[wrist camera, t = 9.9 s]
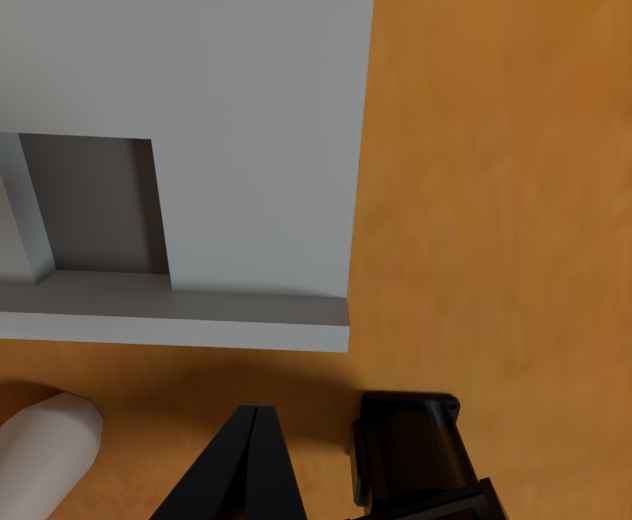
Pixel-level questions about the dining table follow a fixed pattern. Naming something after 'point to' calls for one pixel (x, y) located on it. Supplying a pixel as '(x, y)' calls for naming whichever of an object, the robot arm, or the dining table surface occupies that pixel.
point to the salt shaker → (46, 454)
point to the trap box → (180, 170)
